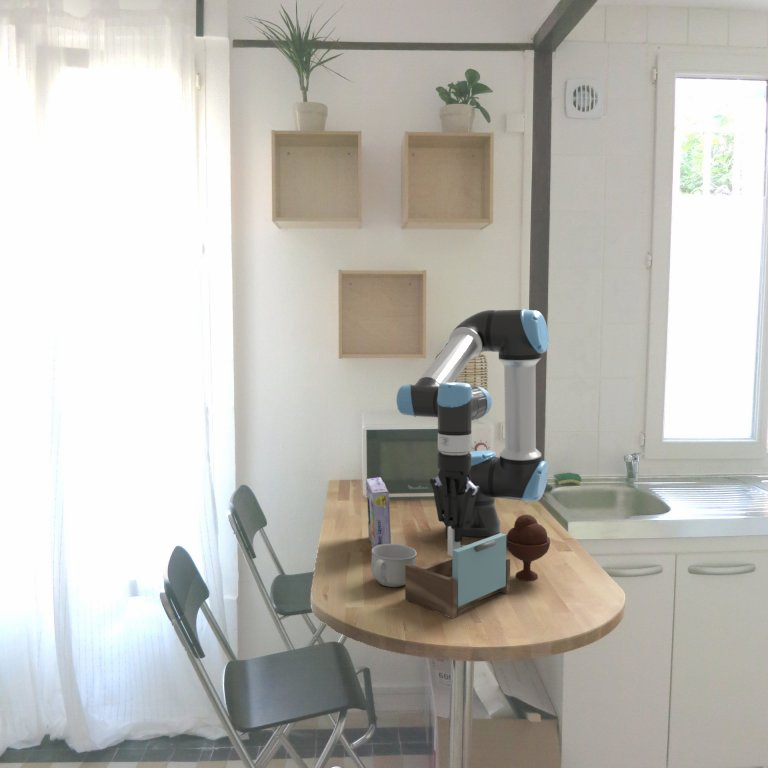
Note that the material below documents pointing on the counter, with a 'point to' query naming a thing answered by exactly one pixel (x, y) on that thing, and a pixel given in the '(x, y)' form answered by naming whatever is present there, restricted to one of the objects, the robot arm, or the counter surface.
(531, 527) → the ice cream bowl
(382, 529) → the cake pan box
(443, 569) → the drawer box
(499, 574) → the pale blue slab
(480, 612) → the counter surface
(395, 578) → the teacup
